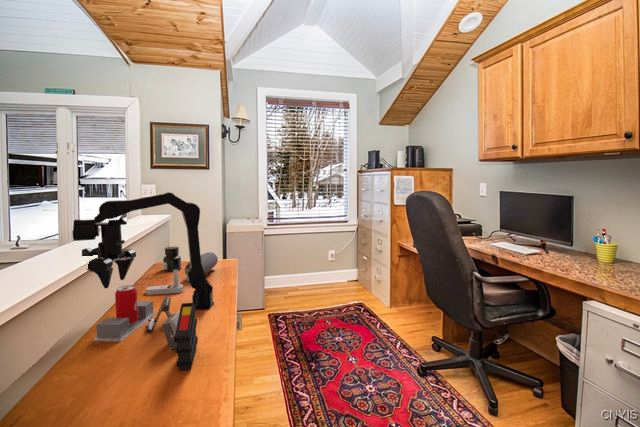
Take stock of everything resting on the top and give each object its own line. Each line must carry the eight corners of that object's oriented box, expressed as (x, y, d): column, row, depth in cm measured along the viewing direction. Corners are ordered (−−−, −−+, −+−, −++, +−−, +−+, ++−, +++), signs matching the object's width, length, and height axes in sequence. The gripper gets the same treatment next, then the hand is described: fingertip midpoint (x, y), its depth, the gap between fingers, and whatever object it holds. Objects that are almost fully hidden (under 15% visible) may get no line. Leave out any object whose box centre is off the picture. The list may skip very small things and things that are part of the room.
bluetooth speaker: (202, 268, 184) (201, 250, 183) (218, 269, 184) (218, 251, 183) (183, 281, 162) (183, 260, 161) (202, 281, 161) (202, 260, 160)
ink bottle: (166, 267, 186) (165, 246, 185) (182, 267, 188) (182, 245, 187) (161, 272, 177) (160, 249, 175) (179, 271, 178) (178, 249, 177)
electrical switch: (182, 351, 95) (178, 319, 94) (164, 353, 95) (159, 321, 94) (193, 336, 105) (189, 307, 104) (176, 338, 104) (172, 309, 103)
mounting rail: (155, 314, 121) (155, 311, 121) (121, 341, 100) (121, 338, 100) (133, 313, 121) (133, 311, 121) (94, 341, 100) (94, 338, 100)
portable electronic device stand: (149, 322, 115) (148, 298, 114) (174, 319, 117) (174, 295, 117) (146, 333, 106) (145, 307, 106) (173, 329, 109) (173, 304, 108)
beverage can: (142, 319, 114) (140, 284, 113) (132, 327, 108) (130, 290, 107) (123, 319, 114) (121, 284, 113) (112, 327, 108) (110, 290, 107)
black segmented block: (199, 338, 99) (195, 301, 92) (194, 380, 88) (189, 341, 81) (185, 339, 98) (180, 302, 91) (178, 382, 87) (172, 343, 80)
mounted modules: (153, 311, 121) (152, 301, 120) (120, 337, 101) (119, 324, 101) (133, 311, 121) (133, 300, 120) (96, 337, 101) (96, 324, 101)
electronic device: (146, 270, 146) (183, 268, 148) (148, 292, 147) (184, 289, 149) (142, 273, 141) (180, 271, 143) (144, 296, 142) (181, 293, 144)
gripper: (104, 234, 122) (107, 276, 124) (67, 243, 104) (70, 293, 105) (135, 234, 123) (138, 276, 124) (103, 243, 104) (107, 292, 106)
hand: (114, 283), depth 115 cm, fingers open, 9 cm apart
